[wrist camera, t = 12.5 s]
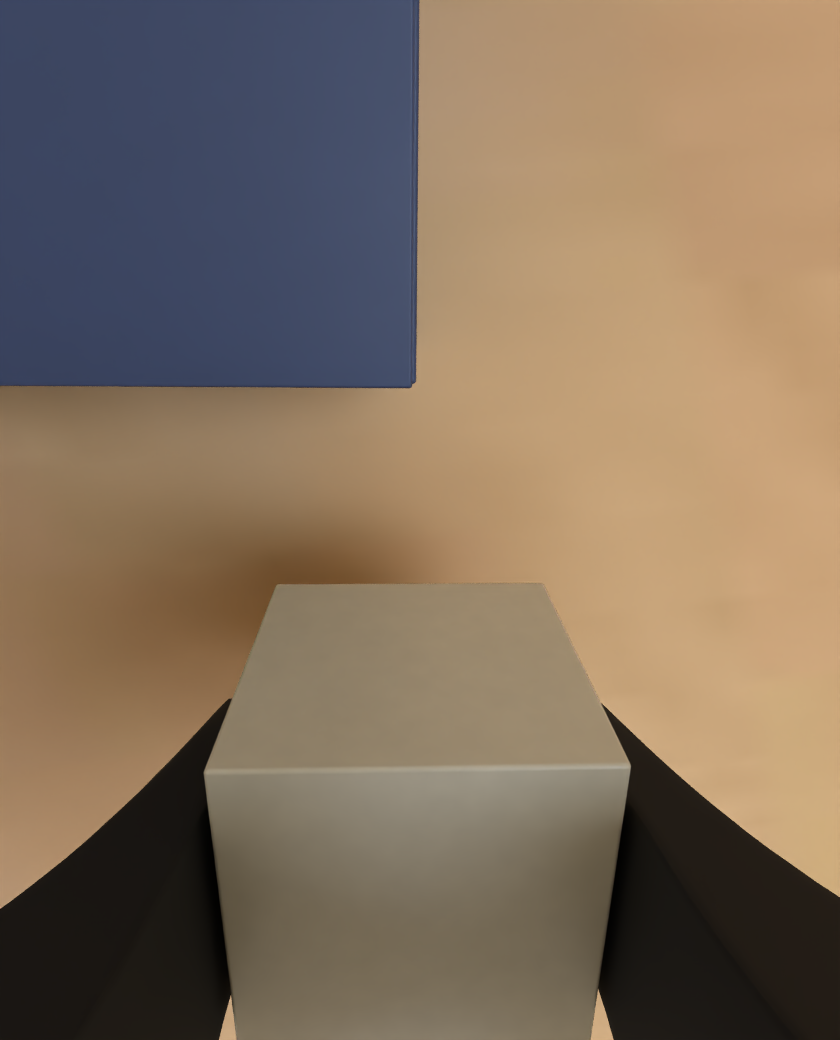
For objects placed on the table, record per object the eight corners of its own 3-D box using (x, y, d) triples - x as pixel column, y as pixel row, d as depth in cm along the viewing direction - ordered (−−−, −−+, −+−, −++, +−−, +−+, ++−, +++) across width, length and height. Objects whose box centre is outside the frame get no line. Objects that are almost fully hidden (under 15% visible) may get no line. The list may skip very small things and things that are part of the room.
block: (526, 794, 13) (590, 1050, 9) (290, 797, 13) (238, 1059, 8) (543, 581, 11) (633, 765, 7) (275, 583, 11) (202, 771, 7)
